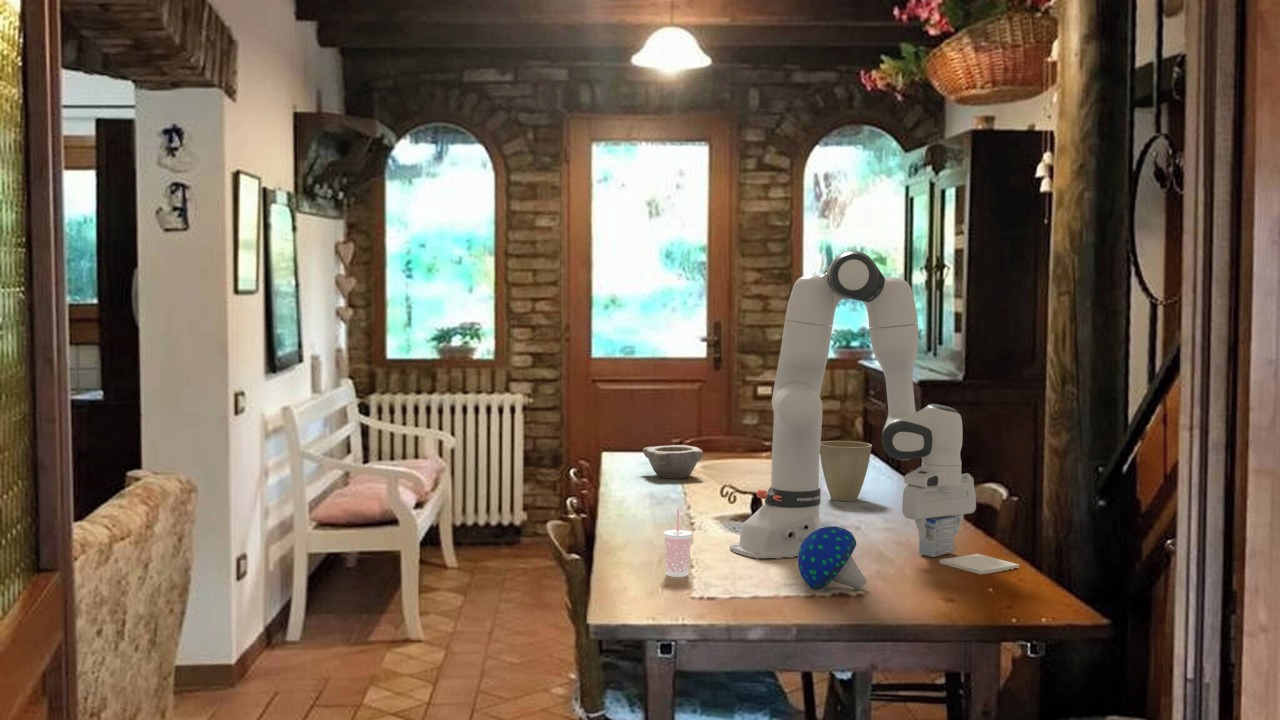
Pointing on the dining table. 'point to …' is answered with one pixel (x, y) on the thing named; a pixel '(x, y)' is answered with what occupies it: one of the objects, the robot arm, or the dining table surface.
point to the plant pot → (844, 467)
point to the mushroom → (829, 559)
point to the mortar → (673, 460)
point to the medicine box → (938, 536)
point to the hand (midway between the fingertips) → (938, 535)
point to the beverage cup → (677, 551)
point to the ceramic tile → (979, 564)
